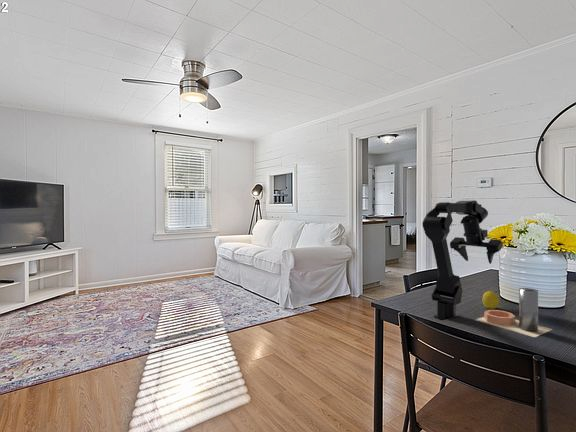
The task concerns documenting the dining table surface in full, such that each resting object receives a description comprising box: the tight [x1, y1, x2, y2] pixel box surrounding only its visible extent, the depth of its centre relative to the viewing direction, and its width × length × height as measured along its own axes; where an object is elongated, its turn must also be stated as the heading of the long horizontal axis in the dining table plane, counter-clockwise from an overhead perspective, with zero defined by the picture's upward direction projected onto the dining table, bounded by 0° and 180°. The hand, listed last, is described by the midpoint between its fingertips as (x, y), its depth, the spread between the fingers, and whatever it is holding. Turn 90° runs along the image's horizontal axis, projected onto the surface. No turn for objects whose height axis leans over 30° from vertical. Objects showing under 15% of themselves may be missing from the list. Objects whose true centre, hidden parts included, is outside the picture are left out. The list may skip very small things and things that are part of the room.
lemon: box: [481, 290, 500, 310], centre depth 128 cm, size 6×6×8 cm
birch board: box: [475, 316, 553, 338], centre depth 110 cm, size 12×18×1 cm, turn 29°
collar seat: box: [483, 309, 516, 326], centre depth 114 cm, size 9×9×2 cm
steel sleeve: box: [518, 287, 539, 332], centre depth 106 cm, size 5×5×13 cm
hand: (478, 262), depth 137 cm, fingers open, 9 cm apart
